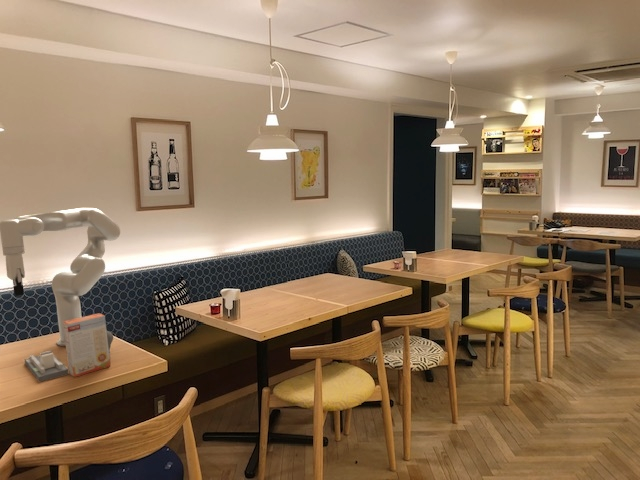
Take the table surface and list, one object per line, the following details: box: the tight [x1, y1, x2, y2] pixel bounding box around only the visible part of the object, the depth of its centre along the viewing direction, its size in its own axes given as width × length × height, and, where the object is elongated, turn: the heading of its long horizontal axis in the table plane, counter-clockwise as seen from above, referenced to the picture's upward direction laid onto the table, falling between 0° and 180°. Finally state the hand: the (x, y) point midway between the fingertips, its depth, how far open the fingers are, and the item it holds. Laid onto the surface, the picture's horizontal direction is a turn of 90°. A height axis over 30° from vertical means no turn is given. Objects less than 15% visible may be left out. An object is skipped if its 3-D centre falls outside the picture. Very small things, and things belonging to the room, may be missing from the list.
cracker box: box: [63, 313, 111, 378], centre depth 202 cm, size 14×6×21 cm, turn 133°
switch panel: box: [24, 350, 69, 383], centre depth 206 cm, size 10×24×4 cm, turn 40°
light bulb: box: [107, 330, 114, 354], centre depth 219 cm, size 6×6×10 cm
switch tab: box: [39, 350, 55, 369], centre depth 202 cm, size 4×4×6 cm
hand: (19, 294), depth 214 cm, fingers closed
